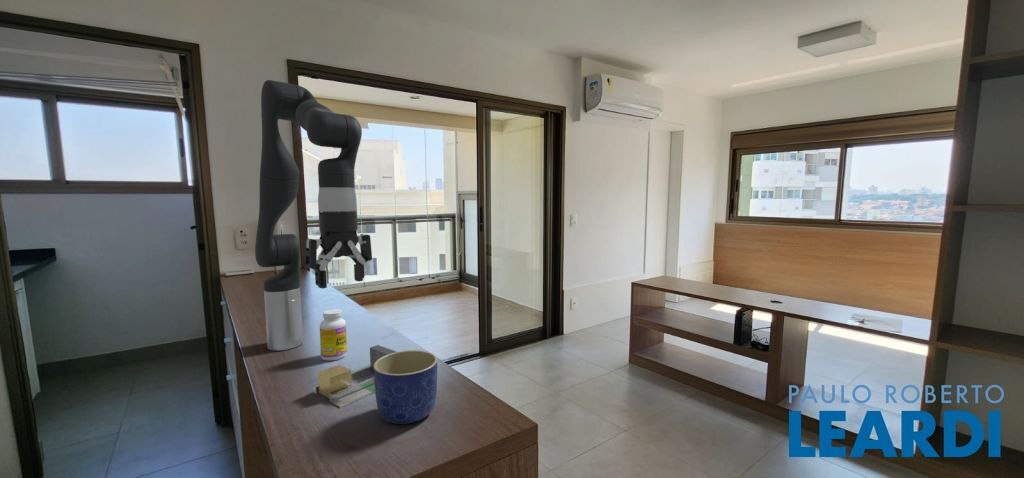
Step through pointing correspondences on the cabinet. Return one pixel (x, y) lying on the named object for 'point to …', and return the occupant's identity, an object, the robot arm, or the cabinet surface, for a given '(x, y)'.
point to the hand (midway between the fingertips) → (341, 284)
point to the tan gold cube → (334, 380)
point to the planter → (405, 385)
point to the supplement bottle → (333, 335)
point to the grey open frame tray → (363, 387)
